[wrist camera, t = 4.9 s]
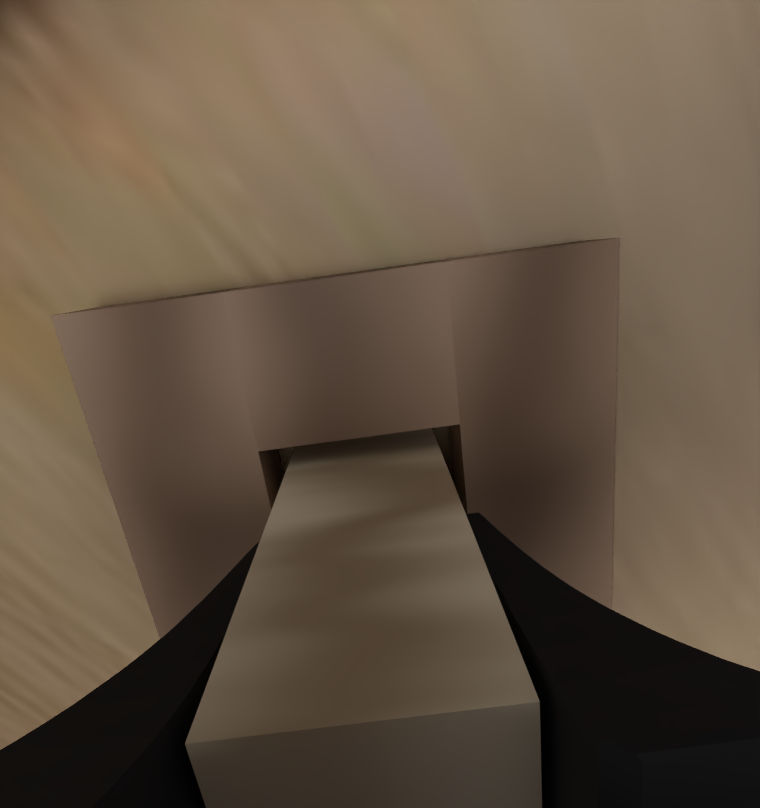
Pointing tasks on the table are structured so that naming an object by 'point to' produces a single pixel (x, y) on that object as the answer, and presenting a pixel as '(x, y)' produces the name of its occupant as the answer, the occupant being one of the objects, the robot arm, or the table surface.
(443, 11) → the table surface
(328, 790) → the maple plug
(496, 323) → the brown square hole board
